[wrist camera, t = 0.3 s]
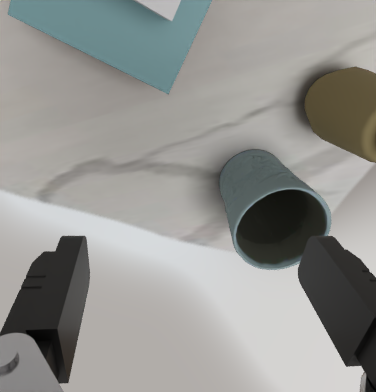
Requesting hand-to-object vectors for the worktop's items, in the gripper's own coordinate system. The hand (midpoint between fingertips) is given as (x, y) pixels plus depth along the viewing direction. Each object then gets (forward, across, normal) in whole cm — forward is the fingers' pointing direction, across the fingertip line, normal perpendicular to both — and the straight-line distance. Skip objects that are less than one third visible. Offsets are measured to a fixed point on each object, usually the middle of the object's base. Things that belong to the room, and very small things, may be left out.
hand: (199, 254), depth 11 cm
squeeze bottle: (+28, -19, 0) cm, 34 cm away
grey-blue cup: (+27, -12, +11) cm, 32 cm away
